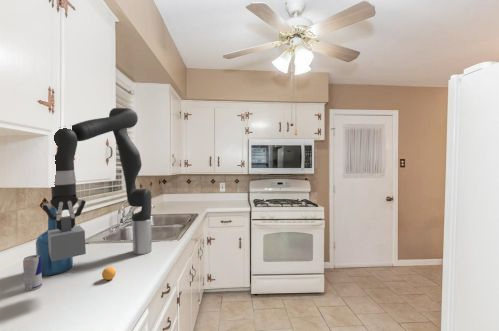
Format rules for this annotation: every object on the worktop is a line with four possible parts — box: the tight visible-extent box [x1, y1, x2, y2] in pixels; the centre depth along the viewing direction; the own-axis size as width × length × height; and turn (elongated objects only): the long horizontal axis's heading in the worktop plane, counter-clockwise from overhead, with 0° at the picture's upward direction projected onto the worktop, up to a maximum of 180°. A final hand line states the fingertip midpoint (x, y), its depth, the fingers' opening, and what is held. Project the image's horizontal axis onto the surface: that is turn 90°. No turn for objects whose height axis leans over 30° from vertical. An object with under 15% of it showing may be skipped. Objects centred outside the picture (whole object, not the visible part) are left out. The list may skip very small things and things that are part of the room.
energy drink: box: [22, 254, 43, 292], centre depth 103 cm, size 5×5×12 cm
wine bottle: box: [35, 205, 74, 276], centre depth 119 cm, size 14×13×30 cm
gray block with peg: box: [48, 215, 87, 262], centre depth 99 cm, size 10×10×14 cm
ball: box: [101, 266, 117, 281], centre depth 109 cm, size 5×5×5 cm
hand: (65, 228), depth 99 cm, fingers closed on gray block with peg, 3 cm apart
